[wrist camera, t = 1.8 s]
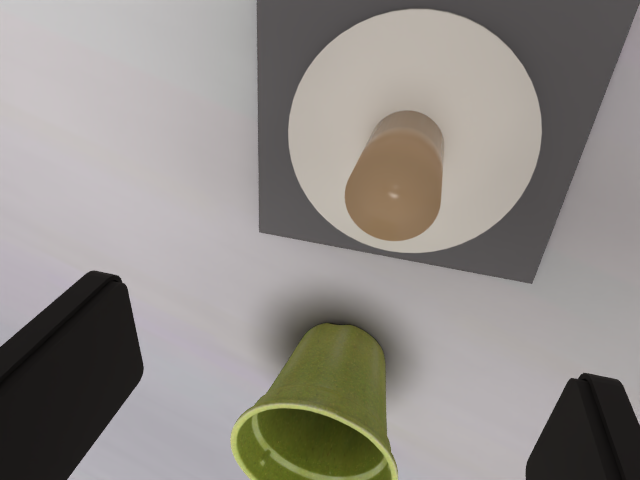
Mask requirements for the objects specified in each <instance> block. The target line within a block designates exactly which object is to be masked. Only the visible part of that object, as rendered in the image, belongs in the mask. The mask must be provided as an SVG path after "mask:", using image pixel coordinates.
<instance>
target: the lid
mask: <svg viewBox="0 0 640 480" xmlns="http://www.w3.org/2000/svg"><path fill="white" fill-rule="evenodd" d="M541 136H542V125H541V112H540V107H539V102H538V98H537V95H536V92H535V89H534V86H533V84H532V81H531V79H530V77H529V76H528V74H527V72H526V70H525V68H524V66H523V65H522V63H521V62H520V61H519V59H518V58H517V57H516V55H515V54H514V53H513V51H512V50H511V49H510V48H509V47H508V46H507V45H506V44H505V43H504V42H503V41H502V40H501V39H500V38H499V37H498V36H497V35H496V34H494V33H493V32H491V31H490V30H488V29H487V28H486V27H484V26H483V25H481V24H479V23H477V22H475V21H473V20H471V19H469V18H467V17H464V16H461V15H458V14H455V13H452V12H449V11H443V10H437V9H431V8H409V9H401V10H394V11H390V12H386V13H383V14H379V15H376V16H373V17H371V18H369V19H367V20H364V21H362V22H360V23H358V24H356V25H355V26H353V27H351V28H350V29H348V30H346V31H345V32H343V33H341V34H340V35H339V36H338V37H336V38H335V39H334V40H333V41H331V42H330V43H329V44H328V45H327V46H326V47H325V48H324V49H323V50H322V51H321V52H320V53H319V54H318V55H317V56H316V58H315V59H314V60H313V62H312V63H311V65H310V66H309V67H308V69H307V70H306V72H305V74H304V76H303V78H302V79H301V81H300V83H299V85H298V88H297V91H296V93H295V96H294V99H293V102H292V107H291V111H290V116H289V127H288V140H289V150H290V156H291V161H292V165H293V168H294V171H295V174H296V177H297V179H298V181H299V183H300V186H301V188H302V189H303V191H304V193H305V194H306V196H307V198H308V199H309V201H310V202H311V203H312V205H313V206H314V207H315V209H316V210H317V211H318V212H319V213H320V214H321V215H322V216H323V217H324V218H325V219H326V220H327V221H328V222H329V223H331V224H332V225H333V226H334V227H335V228H337V229H338V230H340V231H341V232H343V233H344V234H346V235H347V236H349V237H351V238H353V239H355V240H357V241H359V242H361V243H364V244H366V245H369V246H372V247H375V248H379V249H383V250H387V251H393V252H400V253H424V252H433V251H438V250H443V249H447V248H450V247H454V246H457V245H460V244H462V243H464V242H467V241H469V240H471V239H473V238H475V237H477V236H478V235H480V234H482V233H483V232H485V231H487V230H488V229H490V228H491V227H492V226H493V225H495V224H496V223H497V222H498V221H500V220H501V219H502V218H503V217H504V216H505V215H506V214H507V213H508V212H509V211H510V210H511V209H512V207H513V206H514V205H515V204H516V202H517V201H518V200H519V198H520V197H521V196H522V194H523V192H524V190H525V189H526V187H527V185H528V184H529V182H530V179H531V177H532V175H533V172H534V170H535V167H536V164H537V160H538V156H539V152H540V146H541Z"/></svg>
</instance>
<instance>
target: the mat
mask: <svg viewBox="0 0 640 480" xmlns="http://www.w3.org/2000/svg"><path fill="white" fill-rule="evenodd" d="M639 3H640V0H257V61H258V156H259V232H261V233H266V234H272V235H277V236H282V237H287V238H293V239H298V240H303V241H309V242H314V243H319V244H324V245H330V246H335V247H340V248H346V249H351V250H356V251H361V252H367V253H372V254H377V255H383V256H388V257H393V258H399V259H404V260H409V261H414V262H420V263H425V264H430V265H436V266H441V267H446V268H451V269H457V270H462V271H467V272H473V273H478V274H483V275H489V276H494V277H499V278H504V279H510V280H515V281H520V282H526V283H531V284H532V283H533V280H534V277H535V275H536V272H537V269H538V267H539V264H540V262H541V259H542V256H543V254H544V251H545V249H546V246H547V243H548V241H549V238H550V236H551V233H552V230H553V228H554V225H555V223H556V220H557V217H558V215H559V212H560V209H561V207H562V204H563V202H564V199H565V196H566V194H567V191H568V189H569V186H570V183H571V181H572V178H573V176H574V173H575V170H576V168H577V165H578V162H579V160H580V157H581V155H582V152H583V149H584V147H585V144H586V142H587V139H588V136H589V134H590V131H591V129H592V126H593V123H594V121H595V118H596V115H597V113H598V110H599V108H600V105H601V102H602V100H603V97H604V95H605V92H606V89H607V87H608V84H609V82H610V79H611V76H612V74H613V71H614V68H615V66H616V63H617V61H618V58H619V55H620V53H621V50H622V48H623V45H624V42H625V40H626V37H627V35H628V32H629V29H630V27H631V24H632V22H633V19H634V16H635V14H636V11H637V8H638V6H639ZM409 8H431V9H437V10H443V11H449V12H452V13H455V14H458V15H461V16H464V17H467V18H469V19H471V20H473V21H475V22H477V23H479V24H481V25H483V26H484V27H486V28H487V29H488V30H490V31H491V32H493V33H494V34H496V35H497V36H498V37H499V38H500V39H501V40H502V41H503V42H504V43H505V44H506V45H507V46H508V47H509V48H510V49H511V50H512V51H513V53H514V54H515V55H516V57H517V58H518V59H519V61H520V62H521V63H522V65H523V66H524V68H525V70H526V72H527V74H528V76H529V77H530V79H531V81H532V84H533V86H534V89H535V92H536V95H537V98H538V102H539V107H540V112H541V125H542V136H541V146H540V152H539V156H538V160H537V164H536V167H535V170H534V172H533V175H532V177H531V179H530V182H529V184H528V185H527V187H526V189H525V190H524V192H523V194H522V196H521V197H520V198H519V200H518V201H517V202H516V204H515V205H514V206H513V207H512V209H511V210H510V211H509V212H508V213H507V214H506V215H505V216H504V217H503V218H502V219H501V220H500V221H498V222H497V223H496V224H495V225H493V226H492V227H491V228H490V229H488V230H487V231H485V232H483V233H482V234H480V235H478V236H477V237H475V238H473V239H471V240H469V241H467V242H464V243H462V244H460V245H457V246H454V247H450V248H447V249H443V250H438V251H433V252H424V253H400V252H393V251H387V250H383V249H379V248H375V247H372V246H369V245H366V244H364V243H361V242H359V241H357V240H355V239H353V238H351V237H349V236H347V235H346V234H344V233H343V232H341V231H340V230H338V229H337V228H335V227H334V226H333V225H332V224H331V223H329V222H328V221H327V220H326V219H325V218H324V217H323V216H322V215H321V214H320V213H319V212H318V211H317V210H316V209H315V207H314V206H313V205H312V203H311V202H310V201H309V199H308V198H307V196H306V194H305V193H304V191H303V189H302V188H301V186H300V183H299V181H298V179H297V177H296V174H295V171H294V168H293V165H292V161H291V156H290V150H289V140H288V127H289V116H290V111H291V107H292V102H293V99H294V96H295V93H296V91H297V88H298V85H299V83H300V81H301V79H302V78H303V76H304V74H305V72H306V70H307V69H308V67H309V66H310V65H311V63H312V62H313V60H314V59H315V58H316V56H317V55H318V54H319V53H320V52H321V51H322V50H323V49H324V48H325V47H326V46H327V45H328V44H329V43H330V42H331V41H333V40H334V39H335V38H336V37H338V36H339V35H340V34H341V33H343V32H345V31H346V30H348V29H350V28H351V27H353V26H355V25H356V24H358V23H360V22H362V21H364V20H367V19H369V18H371V17H373V16H376V15H379V14H383V13H386V12H390V11H394V10H401V9H409Z"/></svg>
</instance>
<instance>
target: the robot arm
mask: <svg viewBox="0 0 640 480" xmlns="http://www.w3.org/2000/svg"><path fill="white" fill-rule="evenodd" d="M143 369H144V367H143V361H142V356H141V352H140V347H139V342H138V337H137V332H136V327H135V323H134V318H133V313H132V308H131V303H130V299H129V294H128V289H127V286H126V285H125V284H124V283H122V280H121V278H120V277H119V276H117V275H113V274H108V273H104V272H99V271H90V272H88V273H87V274H85V275H84V276H83V277H82V278H81V279H79V280H78V281H77V282H76V283H75V284H73V285H72V286H71V287H70V288H69V289H68V290H66V291H65V292H64V293H63V294H62V295H61V296H59V297H58V298H57V299H56V300H55V301H54V302H52V303H51V304H50V305H49V306H48V307H47V308H45V309H44V310H43V311H42V312H41V313H40V314H38V315H37V316H36V317H35V318H34V319H33V320H31V321H30V322H29V323H28V324H27V325H25V326H24V327H23V328H22V329H21V330H20V331H18V332H17V333H16V334H15V335H14V336H13V337H11V338H10V339H9V340H8V341H7V342H6V343H4V344H3V345H2V346H1V347H0V480H67V479H68V478H69V476H70V475H71V474H72V472H73V471H74V470H75V468H76V467H77V465H78V464H79V463H80V461H81V460H82V459H83V457H84V456H85V455H86V453H87V452H88V451H89V449H90V448H91V447H92V445H93V444H94V442H95V441H96V440H97V438H98V437H99V436H100V434H101V433H102V432H103V430H104V429H105V428H106V426H107V425H108V424H109V422H110V421H111V419H112V418H113V417H114V415H115V414H116V413H117V411H118V410H119V409H120V407H121V406H122V405H123V403H124V402H125V401H126V399H127V398H128V397H129V395H130V394H131V392H132V391H133V390H134V388H135V387H136V386H137V384H138V383H139V381H140V380H141V377H142V374H143ZM526 480H640V425H639V423H638V420H637V418H636V416H635V413H634V411H633V408H632V406H631V404H630V401H629V399H628V396H627V394H626V392H625V389H624V387H623V385H622V383H621V382H620V381H619V380H617V379H612V378H608V377H603V376H598V375H593V374H588V373H583V374H581V375H580V377H579V378H578V379H574V378H571V379H569V381H568V382H567V384H566V386H565V388H564V390H563V392H562V394H561V396H560V398H559V400H558V402H557V404H556V406H555V408H554V410H553V412H552V414H551V416H550V417H549V419H548V421H547V423H546V425H545V427H544V429H543V431H542V433H541V435H540V437H539V439H538V441H537V443H536V445H535V447H534V449H533V451H532V453H531V455H530V457H529V459H528V461H527V465H526Z"/></svg>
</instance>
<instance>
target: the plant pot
mask: <svg viewBox="0 0 640 480" xmlns="http://www.w3.org/2000/svg"><path fill="white" fill-rule="evenodd" d="M230 441H231V449H232V452H233V455H234V457H235V460H236V461H237V463H238V465H239V466H240V468H241V469H242V470H243V472H244V473H245V474H246V475H247V476H248V477H249V478H250V479H251V480H398V469H397V465H396V462H395V459H394V457H393V455H392V453H391V447H390V443H389V439H388V437H387V423H386V371H385V358H384V354H383V351H382V349H381V347H380V345H379V344H378V343H377V341H376V340H375V339H374V338H373V337H372V336H370V335H369V334H368V333H366V332H365V331H363V330H361V329H360V328H357V327H355V326H352V325H333V324H329V323H324V324H320V325H317V326H315V327H313V328H312V329H310V330H309V331H308V332H307V333H306V334H305V335H304V336H303V338H302V339H301V341H300V342H299V344H298V346H297V347H296V349H295V350H294V352H293V353H292V355H291V357H290V358H289V360H288V361H287V363H286V364H285V366H284V367H283V369H282V371H281V372H280V374H279V375H278V377H277V378H276V380H275V381H274V383H273V384H272V386H271V387H270V389H269V390H268V392H267V393H266V394H265V395H264V396H262V397H261V398H260V399H259V400H258V401H257V402H256V404H255V405H254V406H253V407H251V408H249V409H248V410H246V411H245V412H244V413H243V414H242V415H241V416H240V417H239V418H238V420H237V421H236V423H235V425H234V427H233V429H232V432H231V440H230Z"/></svg>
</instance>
